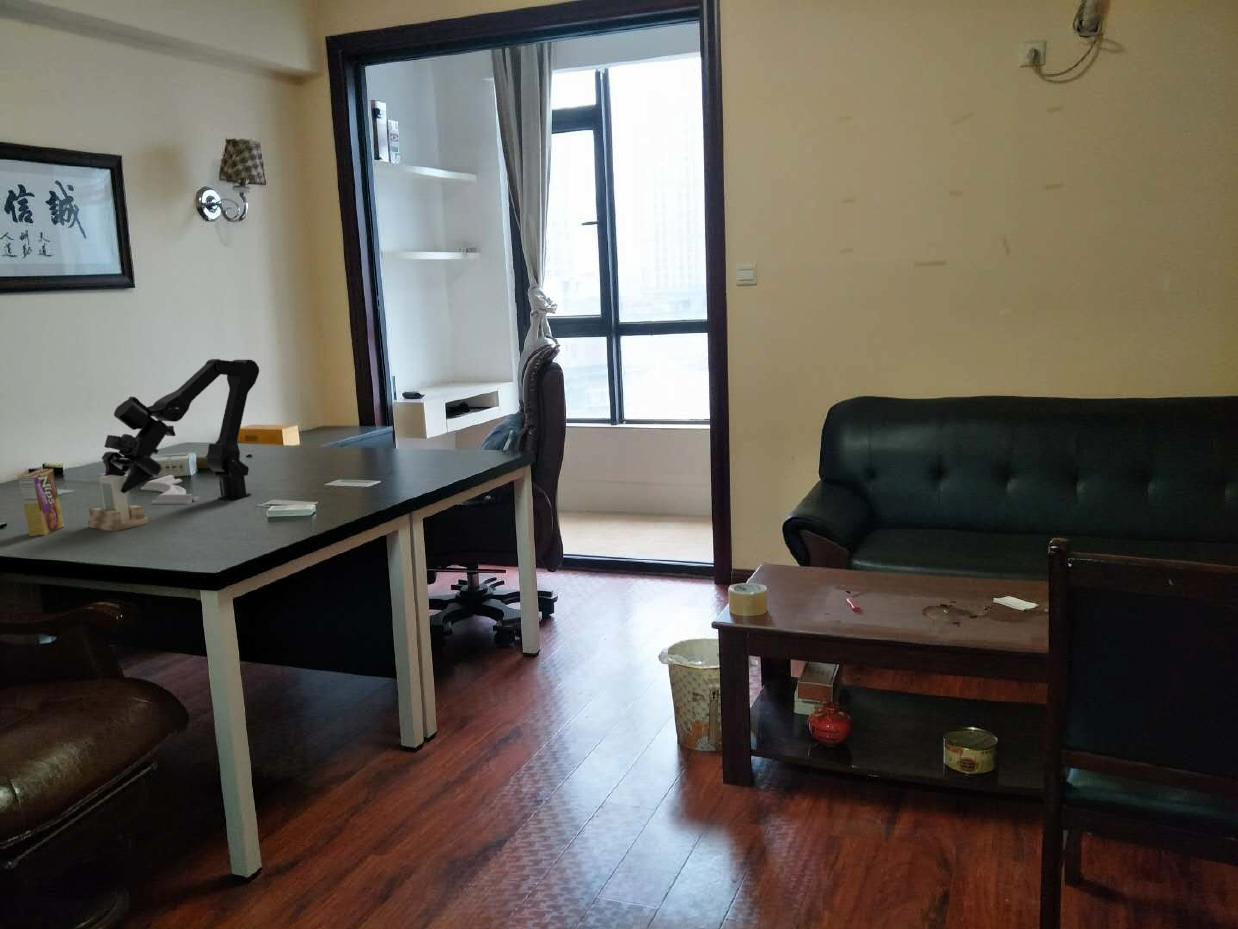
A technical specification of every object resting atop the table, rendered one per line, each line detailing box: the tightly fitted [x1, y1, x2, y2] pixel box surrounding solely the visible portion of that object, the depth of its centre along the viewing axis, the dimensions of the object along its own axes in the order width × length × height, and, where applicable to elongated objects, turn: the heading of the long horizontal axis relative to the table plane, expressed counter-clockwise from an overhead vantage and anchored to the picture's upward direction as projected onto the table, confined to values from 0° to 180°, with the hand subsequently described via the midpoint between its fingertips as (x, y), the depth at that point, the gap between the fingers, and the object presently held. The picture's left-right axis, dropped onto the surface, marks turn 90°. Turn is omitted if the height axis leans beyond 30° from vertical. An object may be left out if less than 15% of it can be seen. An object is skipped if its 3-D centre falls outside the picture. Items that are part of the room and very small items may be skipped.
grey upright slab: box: [98, 475, 130, 521], centre depth 254 cm, size 6×3×11 cm, turn 55°
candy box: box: [17, 468, 65, 537], centre depth 251 cm, size 9×4×15 cm, turn 0°
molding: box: [140, 474, 202, 505], centre depth 294 cm, size 42×12×3 cm, turn 31°
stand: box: [87, 503, 149, 532], centre depth 255 cm, size 12×9×4 cm
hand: (112, 491), depth 253 cm, fingers open, 9 cm apart
